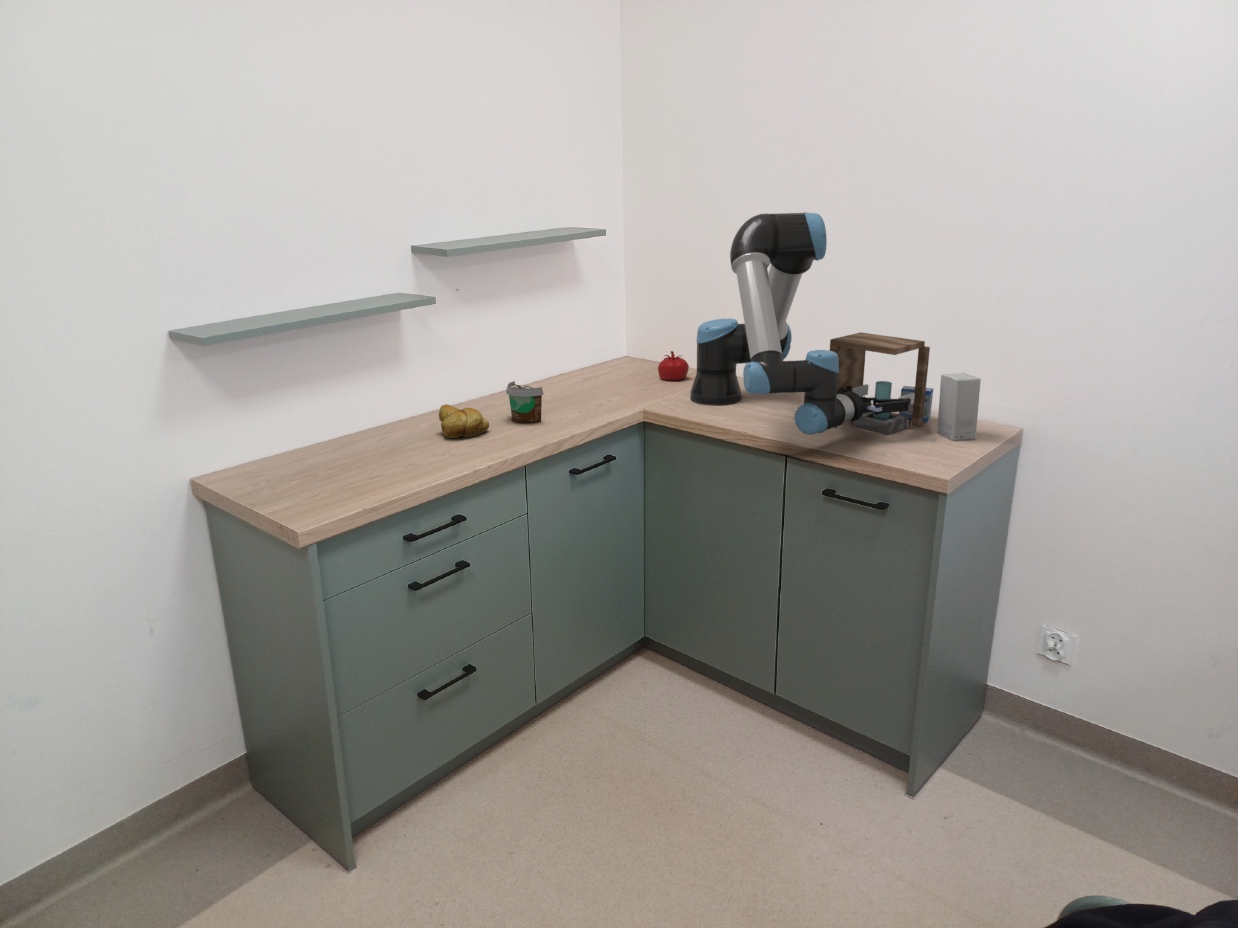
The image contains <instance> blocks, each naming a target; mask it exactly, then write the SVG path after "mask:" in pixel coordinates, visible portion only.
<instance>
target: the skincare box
mask: <svg viewBox="0 0 1238 928" xmlns="http://www.w3.org/2000/svg"><path fill="white" fill-rule="evenodd" d="M981 379H982V378H980V377H976V376H973V375H971V374H968V373H965V372H955V373H944V374H940V385H939V386H940V387H939V389H940V390H939V400H938V401H939V403H938V415H937V429H936V432H937V434H938V435H941V436H943V437H945V438H947V439H949V440H951V441H953V442H955V441H956V442H957V441H967V440H968V441H971V440H975V439H976V438H977V437H976V436H977V427H978V414H979V404H980V391H981V390H980V389H981V382H982V381H981Z"/></svg>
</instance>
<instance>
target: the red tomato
mask: <svg viewBox="0 0 1238 928" xmlns="http://www.w3.org/2000/svg"><path fill="white" fill-rule="evenodd" d="M674 353H675V352H674V351H673V350H670V355H669V354H667V355H663V356H664V358H663V359H662V360H661V361H660V362H659V364H658V367H657V371H658V376H659V377H660V379H662V380H664V381H672V380H673V381H675V382H676V381H677V382H678V381H681V380H683V379H685V378H686V377H687V375H688V374H689V373H688V372H689V368H690V366H689V364H688V362H687V361H686V360H685V359H684V358H683V355H682V354H681V355H680V354H679V355H676V356H675V354H674ZM673 381H672V382H673Z"/></svg>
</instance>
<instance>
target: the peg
mask: <svg viewBox="0 0 1238 928" xmlns="http://www.w3.org/2000/svg"><path fill="white" fill-rule="evenodd" d="M892 384H893V383H892V382H891V381H886V380H880V381H879V380H878V381H875V388H874V389H875V390H874V397H875V398H877V399H892V398H891V397H892V387H893V385H892ZM873 418H875V419H879V420H884V421H886V420H888V419H889V413H882V414H878V415H876V414H874V412H873Z"/></svg>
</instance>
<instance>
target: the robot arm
mask: <svg viewBox="0 0 1238 928" xmlns="http://www.w3.org/2000/svg"><path fill="white" fill-rule="evenodd" d="M827 244H828V243H827V229H826V225H825V221H824V219H823V217H822V216H821V214H819V213H817V212H806V211H804V212H787V213H786V212H785V213H784V212H783V213H782V212H781V213H759V214H755V215H754V216H752V217H750V218H749V219H747V220H746V221H744V222H743V224H742V225H741V226H740V227H739V229H738V231H737V232H736V234H735V236H734V237H733V240H732V243H731V246H730V247H731V248H730V251H729V254H730V256H729V259H730V267H731V271H732V272H733V273H734V274H735V275H736V279H737V283H738V284H737V286H738V291H739V296H740V297H739V298H740V301H741V302H740V304H741V310H742V315H743V322H744V323H739V322H738V320H737V319H736V318H717V319H713V320H708V321H704V322H703V323H701V324H700V325H699V326H698V327H697V333H696V340H695V342H696V373H695V377H694V381H693V383H692V386H691V390H690V400H691V401H692V402H694V403H697V404H702V405H711V406H724V405H726V406H727V405H731V404H736V403H739V402H741V401H742V390H741V386H740V383H739V378H738V376H737V365H738V364H739V365H740V364H744V366H743V367H744V368H743V372H742V373H743V374H742V375H743V386H744V390H745V391H746V393H748V394H752V395H768V394H769V395H770V394H785V393H787V394H791V393H792V394H793V393H794V394H795V393H803V394H804V397H803V399H804V400H803V403H802V405H800V406H799V407H797V409H796V410H795V413H794V417H793V418H794V419H793V420H794V423H795V425H796V427H797V428H798V430H799V431H800V432H801V433H803V434H805V435H806V436H807V435H810V436H811V435H816V434H820V433H825V431H829V430H831V429H837V427H840V426H843V425H845V424H850V423H852V422H853V421H855V420H858V419H859V418H860V417H861V416H862V414H863V413H866V412H874V414H876V415H878V414H882V413H899V412H903V411H908V410H909V405H911V404H914V396H915V393H910V394H907V395H904V396H901V395H900V396H899V397H898V398H891V399H877V398H875V396H873V397H872V396H871V397H866V396H867V395H868V394H869V384H863V385H862V386H859V387H855V388H852V389H851V386H847V390H844V388H839V390H838V391H837V384H838V373H839V360H838V355H837V354H836V353H835V352H833V351H830V349H828V350H827V349H815V350H809V351H808V352H807V353H806V356H805V359H803V360H800V359H799V360H785V359H786V358H787V356H788V355H789V353H790V349H791V343H792V340H793V339H792V338H793V337H792V329H791V328H790V325H789V324H788V322H787V319H788V316H789V313H790V311H791V306H792V304H793V301H794V298H795V296H796V294H797V290H798V287H799V286H800V285H799V284H800V281H801V279H802V275H803V274H805V273H806V272H808V271H809V270H810V269H811V267H812V265H813V263H814V261H816V262H817V261H818V262H819V261H820V260H821V261H822V260H823V259H824V258H825V257H826V253H827ZM768 268H769V270H768ZM797 428H796V429H797Z"/></svg>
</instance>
